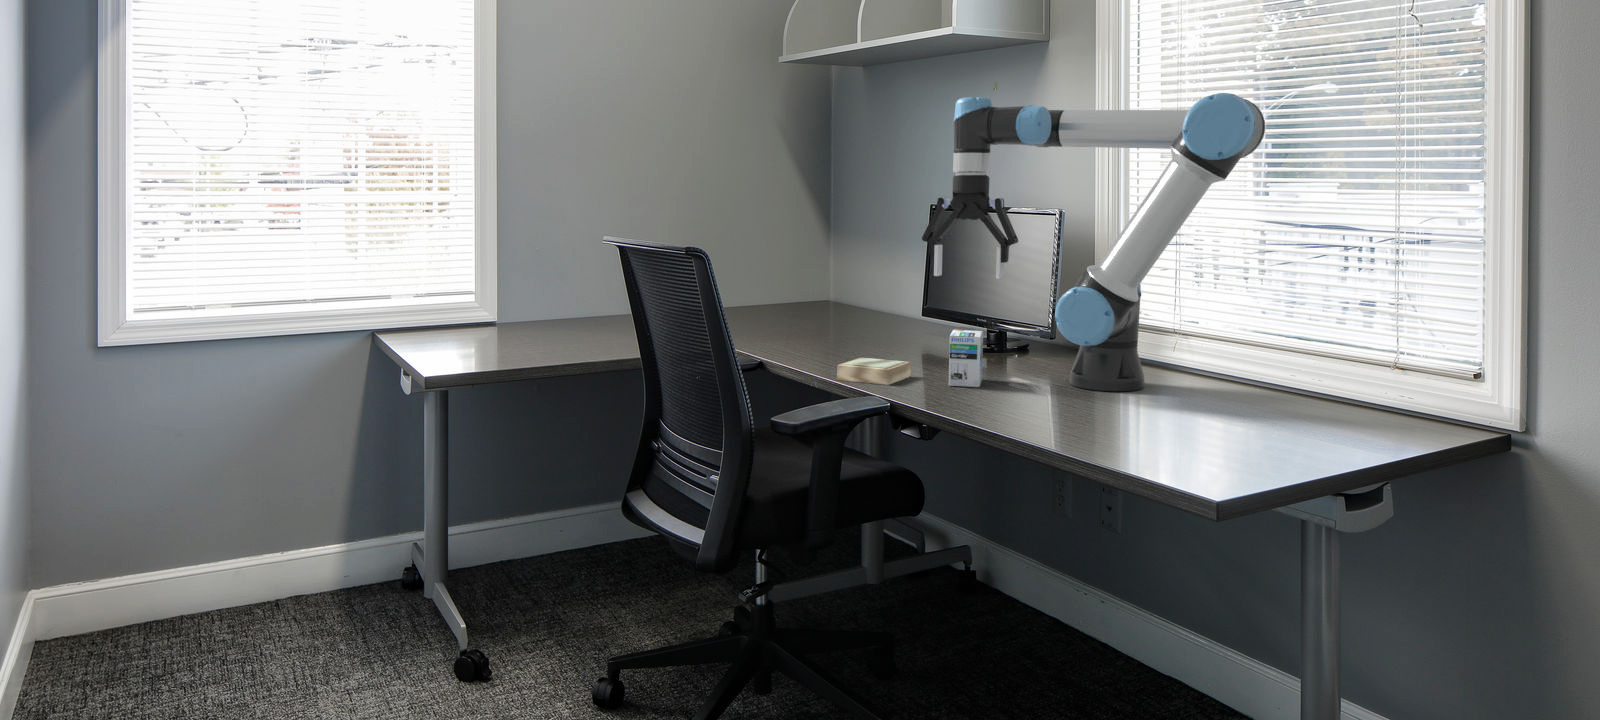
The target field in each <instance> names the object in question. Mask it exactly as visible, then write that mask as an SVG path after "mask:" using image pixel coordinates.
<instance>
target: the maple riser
mask: <svg viewBox="0 0 1600 720" xmlns="http://www.w3.org/2000/svg"><path fill="white" fill-rule="evenodd" d="M911 367H912V362H911V361H903V360H892V359H884V358H883V359H881V358H872V357H871V358H870V357H859V358H858V357H857V358H855V359H852V360H849V361H846V362H843V363H840V364H837V365H836V380H837V381H845V382H856V383H864V384H873V385H874V384H876V385H884V386H890V385H892V384H895V383H897V382H900V381H902V380H905V379H907V378H910V377H911V376H912V375H911V370H912V368H911Z"/></svg>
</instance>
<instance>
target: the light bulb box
mask: <svg viewBox="0 0 1600 720" xmlns="http://www.w3.org/2000/svg"><path fill="white" fill-rule="evenodd" d="M983 348H984V331H983V330H965V329H964V330H963V329H953V330H952V331H951V333H950V335H949V355H948V356H949V357H948V358H949V359H948V387H968V388H969V387H970V388H971V387H972V388H980V387H981V384H982V381H983V355H984V354H983V352H984V349H983Z"/></svg>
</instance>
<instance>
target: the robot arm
mask: <svg viewBox="0 0 1600 720" xmlns="http://www.w3.org/2000/svg"><path fill="white" fill-rule="evenodd" d="M953 124H954V125H953V156H952V157H953V161H952V173H955V175H953V177H952V196H951V198H947V197H938V198H937V201H936V208H935V209H934V210H935V211H934V213H933V215H932V217H931V218H930V220H929V222H928V224H927V226H926V229H925V231H924V233H923V235H922V236H921V240H922V241H923V242H926V243H928V244H929V246H930V247H929V248H930V253H929V256H930V257H929V258H930V260H931V261H932V260H933V276H934V277H940V276H943V244H940V243H941V241H942V240H943V239H944V237H945V236H946V235H947V234H948V233H949V231H950V230H951V229H952V227H954V225H955V224H956V223H957V222H958V221H959V220H962V221H963V220H965V221H966V220H971V221H978V220H980V221H981V222H982V223H983V224H984V225H985V227H986V228H987V229H988V231H989V233H991V235H992V236H993V237H994V239H995V240H996V241H997V243H998V245H999V246H996V259H995V279H996V280H1000V279H1001V280H1002V279H1004V274H1005V273H1004V271H1005V270H1004V269H1005V268H1004V267H1005V263H1008V262H1009V253H1010V247H1011V246H1012V245H1015V244H1018V243H1019V237H1018V236H1017V234H1016V232H1015V228H1014V227H1013V225H1012V222H1011V221H1010V217H1009V216H1008V213H1007V211H1006V209H1005V200H1004V198H1003V197H999V198H998V197H997V198H995V199H990V177H989V175H987V174H988V173H989V172H990V169H991V168H990V167H991V164H990V163H991V146H992V145H993V146H997V145H1004V146H1005V145H1007V146H1008V145H1010V146H1011V145H1012V146H1013V145H1017V146H1018V145H1021V146H1030V147H1032V146H1034V147H1038V148H1051V147H1052V148H1054V147H1055V148H1062V147H1066V148H1108V149H1109V148H1111V149H1113V148H1117V149H1118V148H1119V149H1121V148H1122V149H1163V150H1164V149H1167V150H1170V152H1171V160H1170V161H1169V163H1168V164H1167V166H1166V167H1165V169H1163V171H1162V173H1161V174H1160V176H1159V177H1158V178H1157V180H1156V182H1155V183H1154V185H1153V186H1152V187H1151V188H1150V190H1149V191H1148V193H1147V195H1146V196H1145V197H1144V199H1143V200H1142V202H1141V203H1140V205H1139V206H1138V207H1137V209H1136V210H1135V212H1134V214H1132V216H1131V218H1130V219H1129V221H1128V222H1127V223H1126V225H1125V226H1124V228H1123V229H1122V231H1121V233H1119V235H1118V237H1117V238H1116V240H1114V242H1113V244H1112V245H1111V246H1110V248H1109V249H1108V251H1107V253H1105V255H1104V256H1103V258H1102V260H1101V261H1100V262H1099V263H1097V264H1093V265H1088V266H1087V268H1086V269H1085V271H1084V272H1083V273H1082V275H1081V276H1080V277H1079V279H1078V280H1077V282H1075V283H1076V284H1075V285H1074V286H1073V287H1072V288H1070V289H1068V290H1067V291H1065V293H1063V294H1062V295H1061V297H1059V300H1058V301H1057V303H1056V306H1055V312H1054V318H1055V319H1054V320H1055V322H1056V326H1057V328H1058V330H1059V331H1060V334H1061V335H1062V336H1063V337H1064V338H1065V339H1066V340H1067V341H1069V342H1071V343H1073V344H1075V345H1079V349H1078V352H1077V355H1076V356H1075V360H1074V363H1073V365H1072V368H1071V371H1070V374H1069V384H1070V385H1071V386H1073V387H1076V388H1078V389H1079V388H1080V389H1086V390H1093V391H1103V392H1132V391H1133V392H1134V391H1138V390H1139V391H1140V390H1142V389H1144V387H1145V374H1144V370H1143V366H1142V363H1141V360H1140V355H1139V352H1138V342H1139V327H1140V311H1141V309H1140V308H1141V298H1142V291H1141V286H1142V285H1141V283H1142V282H1143V280H1144V279H1145V277H1146V276H1148V273H1149V272H1150V270H1151V269H1152V268H1153V266H1154V265H1155V264H1156V262H1157V261H1158V259H1159V258H1160V257H1161V255H1162V254H1163V253H1164V251H1165V250H1166V248H1167V247H1168V245H1169V244H1170V243H1171V241H1172V240H1173V238H1174V237H1175V235H1176V234H1177V233H1178V232H1179V230H1180V229H1181V227H1182V226H1183V225H1184V224H1185V222H1186V220H1187V219H1188V218H1189V217H1190V215H1191V213H1192V212H1193V211H1194V209H1195V208H1196V206H1197V205H1198V204H1199V202H1201V200H1202V198H1203V196H1204V195H1205V194H1206V192H1207V191H1208V190H1209V188H1210V187H1211V186H1212V185H1213V184H1215V183H1218V182H1223V181H1225V180H1226V179H1227V178H1228V176H1229V175H1230V173H1231V172H1232V171H1233V170H1234V168H1235V167H1236V166H1237V164H1238V162H1239V161H1240V160H1241V159H1243V158H1245V157H1247V156H1249V155H1250V154H1252V153H1253V152H1254V151H1255V150H1256V149H1257V148H1258V147H1259V146H1260V144H1262V141H1263V139H1264V137H1265V133H1266V119H1265V117H1264V114H1263V112H1262V110H1260V108H1259V107H1258V106H1257V105H1256V104H1255V103H1254V102H1251V100H1249V99H1245V98H1243V97H1241V96H1239V95H1236V94H1234V93H1227V92H1219V93H1218V92H1217V93H1215V94H1210V95H1207V96H1204V97H1203V98H1201V99H1199V100H1198V101H1196V103H1194V104H1193V105H1192V106H1191V107H1190V109H1065V110H1064V109H1063V110H1062V109H1048V108H1047V107H1046V106H1042V105H1028V104H1027V105H1022V106H1021V105H1020V106H1019V105H1018V106H1006V107H1005V106H1003V107H1002V106H1001V107H998V106H993V101H992V99H991V98H990V97H983V96H981V97H980V96H979V97H978V96H977V97H974V96H973V97H971V96H970V97H969V96H968V97H961V98H959V99H957V101H956V102H955V109H954V117H953ZM949 206H951V208H952V210H953V211H952V212H951V214H950V215H949V216H948V218H947V220H946V221H944V223H943V224H942V225H941V227H940V228H939V229H938V230H937V228H938V226H939V224H940V222H941V220H942V218H943V216H944V214H945V212H946V209H948V208H949ZM991 206H992V209H993V210H995V213H996V215H997V217H998V220H999V222H1000V224H1001V227H1002V230H1003V231H1004V233H1005V234H1004V233H1003V231H1002V230H1001V229H1000V228H999V226H998V225H997V223H996V222H995V221H994V220H993V219H992V217H991V215H990V214H989V212H988V209H989V208H990V207H991ZM936 230H937V232H936Z"/></svg>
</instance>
